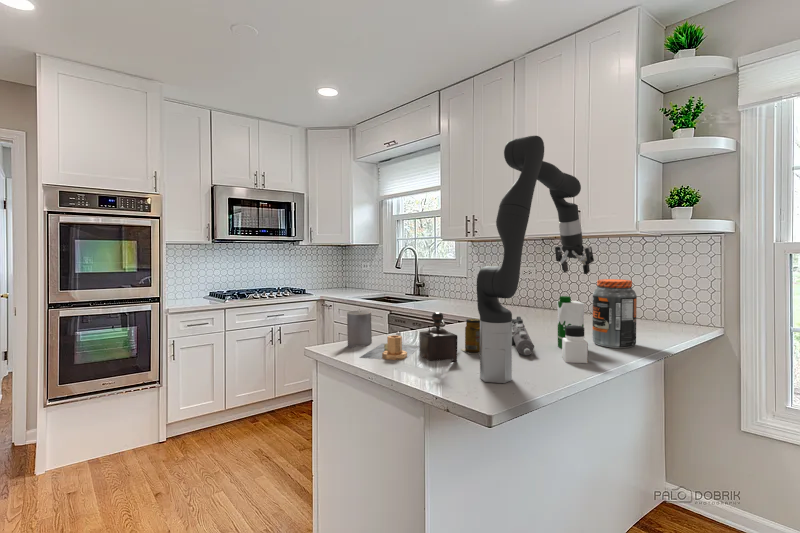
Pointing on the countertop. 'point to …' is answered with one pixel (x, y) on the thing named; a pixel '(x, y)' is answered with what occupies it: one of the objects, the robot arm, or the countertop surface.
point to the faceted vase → (394, 348)
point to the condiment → (472, 336)
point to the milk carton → (568, 315)
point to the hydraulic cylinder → (521, 337)
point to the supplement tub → (614, 313)
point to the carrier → (378, 351)
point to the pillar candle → (359, 328)
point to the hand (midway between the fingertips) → (576, 272)
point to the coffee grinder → (438, 342)
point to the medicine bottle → (574, 345)
